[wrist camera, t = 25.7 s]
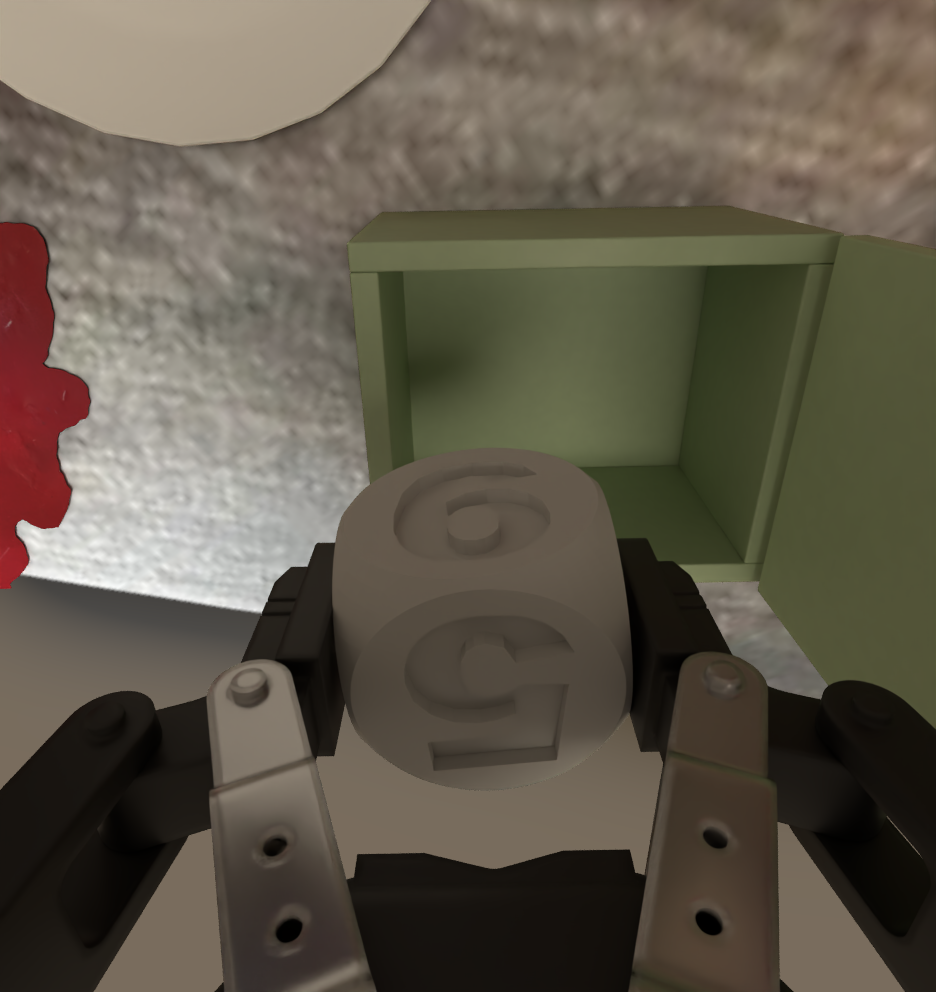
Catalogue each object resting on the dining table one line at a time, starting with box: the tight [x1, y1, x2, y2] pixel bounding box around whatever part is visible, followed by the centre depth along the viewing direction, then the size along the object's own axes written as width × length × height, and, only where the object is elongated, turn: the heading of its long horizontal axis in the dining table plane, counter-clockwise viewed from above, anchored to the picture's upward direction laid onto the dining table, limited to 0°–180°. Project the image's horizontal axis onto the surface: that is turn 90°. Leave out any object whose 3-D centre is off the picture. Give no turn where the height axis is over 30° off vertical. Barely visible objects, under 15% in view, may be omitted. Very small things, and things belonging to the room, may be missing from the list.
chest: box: [347, 206, 844, 583], centre depth 25 cm, size 14×12×9 cm
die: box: [332, 448, 633, 790], centre depth 14 cm, size 5×5×5 cm
